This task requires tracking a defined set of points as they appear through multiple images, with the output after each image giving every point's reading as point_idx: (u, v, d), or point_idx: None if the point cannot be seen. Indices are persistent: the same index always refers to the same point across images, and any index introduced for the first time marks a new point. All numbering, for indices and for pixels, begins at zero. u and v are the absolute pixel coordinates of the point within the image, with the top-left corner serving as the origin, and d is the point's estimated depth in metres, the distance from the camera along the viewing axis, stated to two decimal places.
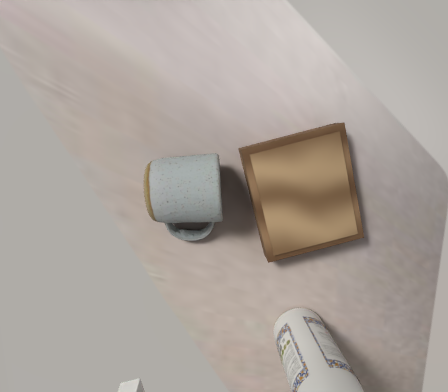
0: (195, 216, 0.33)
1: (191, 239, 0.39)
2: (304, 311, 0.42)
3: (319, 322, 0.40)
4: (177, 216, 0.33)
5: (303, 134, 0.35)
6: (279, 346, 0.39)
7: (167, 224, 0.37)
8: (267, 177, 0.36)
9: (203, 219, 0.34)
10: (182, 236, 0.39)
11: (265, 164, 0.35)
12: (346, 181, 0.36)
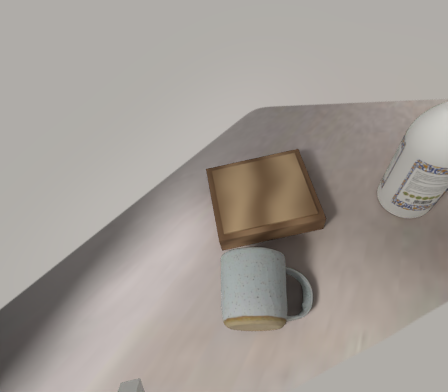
0: (275, 274, 0.34)
1: (311, 295, 0.37)
2: (378, 190, 0.43)
3: None
4: (275, 291, 0.33)
5: (211, 195, 0.44)
6: (416, 204, 0.39)
7: (293, 316, 0.35)
8: (244, 219, 0.41)
9: (279, 267, 0.35)
10: (308, 304, 0.37)
11: (233, 221, 0.41)
12: (250, 163, 0.46)
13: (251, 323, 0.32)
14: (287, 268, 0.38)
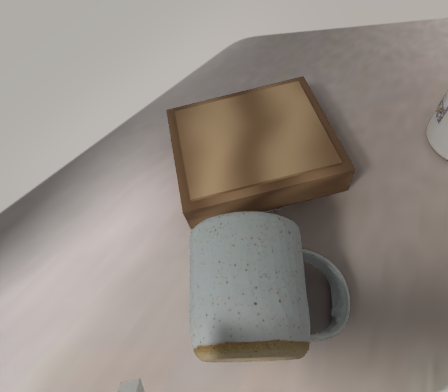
0: (286, 258, 0.18)
1: (347, 294, 0.22)
2: (430, 129, 0.28)
3: None
4: (288, 291, 0.17)
5: (173, 145, 0.29)
6: None
7: (319, 335, 0.20)
8: (223, 177, 0.26)
9: (292, 247, 0.19)
10: (343, 311, 0.21)
11: (205, 180, 0.26)
12: (233, 98, 0.30)
13: (244, 356, 0.16)
14: (304, 251, 0.22)
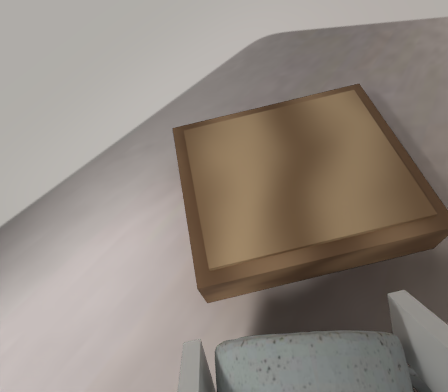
0: None
1: None
2: None
3: None
4: None
5: (182, 179, 0.20)
6: None
7: None
8: (257, 233, 0.17)
9: None
10: None
11: (230, 237, 0.17)
12: (264, 113, 0.22)
13: None
14: None
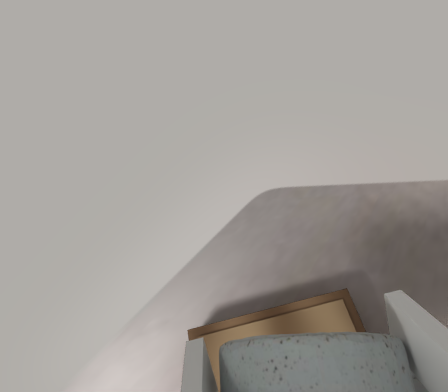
0: None
1: None
2: None
3: None
4: None
5: None
6: None
7: None
8: None
9: None
10: None
11: None
12: (266, 322, 0.26)
13: None
14: None
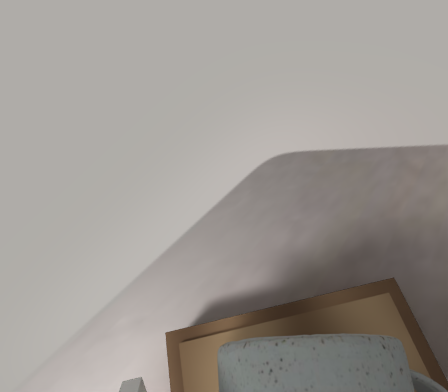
0: None
1: None
2: None
3: None
4: None
5: None
6: None
7: None
8: None
9: None
10: None
11: None
12: (278, 324, 0.18)
13: None
14: None
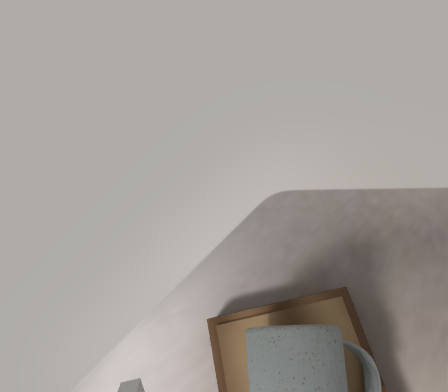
0: (334, 368, 0.22)
1: (378, 380, 0.25)
2: None
3: None
4: None
5: (217, 373, 0.29)
6: None
7: None
8: None
9: (338, 355, 0.23)
10: None
11: None
12: (275, 314, 0.30)
13: None
14: (342, 342, 0.26)
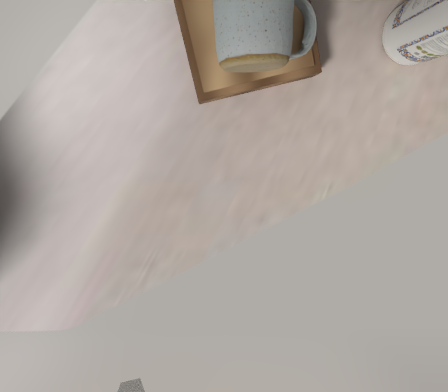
0: None
1: (315, 29, 0.32)
2: (387, 26, 0.36)
3: (402, 7, 0.34)
4: (284, 23, 0.27)
5: (182, 32, 0.33)
6: (423, 58, 0.34)
7: (294, 54, 0.32)
8: (227, 73, 0.34)
9: None
10: (310, 40, 0.32)
11: (213, 75, 0.34)
12: None
13: (256, 62, 0.28)
14: None
